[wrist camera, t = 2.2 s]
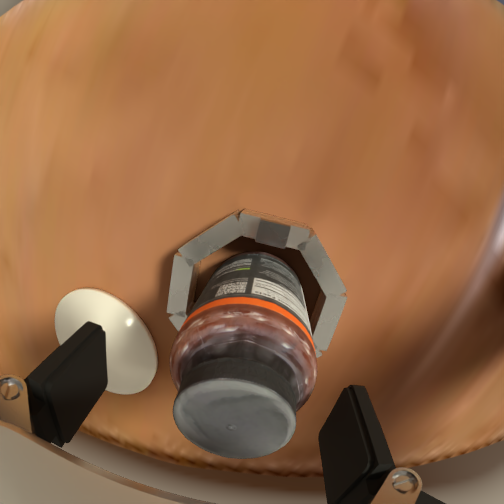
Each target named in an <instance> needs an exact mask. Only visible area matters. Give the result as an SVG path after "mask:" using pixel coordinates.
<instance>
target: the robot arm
mask: <svg viewBox="0 0 504 504" xmlns="http://www.w3.org/2000/svg"><path fill="white" fill-rule="evenodd" d="M107 384H108V375H107V357H106V332H105V331H104V330H103V328H102V326H101V325H98V324H96V323H93V322H90V321H87V322H86V323H85V324H84V325H83V326H81V327H80V328H79V329H78V330H77V331H76V332H75V333H74V334H73V335H72V336H70V337H69V338H68V339H67V340H66V341H65V342H64V343H63V344H62V345H61V346H59V347H58V348H57V349H56V350H55V351H54V352H53V353H52V354H50V355H49V356H48V357H47V358H46V359H45V360H44V361H43V362H42V363H41V364H40V365H39V366H38V367H37V368H36V369H35V370H34V371H33V372H32V373H31V374H30V375H29V376H28V377H27V378H26V379H25V380H23V379H21V378H20V377H18V376H16V375H10V374H8V375H3V376H0V504H215V503H210V502H205V501H201V500H196V499H192V498H187V497H184V496H180V495H176V494H172V493H169V492H165V491H162V490H159V489H155V488H152V487H149V486H146V485H143V484H140V483H137V482H134V481H132V480H129V479H126V478H124V477H121V476H118V475H116V474H113V473H111V472H108V471H106V470H104V469H101V468H99V467H97V466H95V465H92V464H90V463H88V462H86V461H84V460H81V459H80V458H78V457H75V456H73V455H71V454H69V453H67V452H65V451H64V450H62V449H60V448H58V447H56V446H54V445H52V444H51V442H52V443H54V444H56V445H57V446H59V447H62V446H63V445H64V443H65V442H66V443H69V442H70V441H71V439H72V438H73V436H74V434H75V433H76V432H77V430H78V429H79V427H80V426H81V424H82V423H83V421H84V420H85V418H86V417H87V415H88V414H89V412H90V411H91V409H92V408H93V407H94V405H95V404H96V402H97V401H98V399H99V398H100V396H101V395H102V393H103V392H104V391H105V389H106V387H107ZM319 446H320V453H321V460H322V467H323V474H324V482H325V490H326V497H327V503H328V504H445V503H443V502H442V501H440V500H438V499H436V498H434V497H432V496H430V495H428V494H426V493H425V492H423V491H421V488H422V481H421V479H420V477H419V475H418V474H417V473H416V472H414V471H413V470H411V469H409V468H404V467H400V468H396V467H395V465H394V462H393V459H392V456H391V453H390V450H389V448H388V445H387V442H386V439H385V436H384V434H383V431H382V428H381V426H380V423H379V421H378V419H377V416H376V414H375V411H374V408H373V406H372V403H371V401H370V398H369V396H368V393H367V391H366V388H365V387H364V386H358V385H350V386H348V388H344V389H343V391H342V393H341V395H340V397H339V399H338V400H337V402H336V404H335V406H334V408H333V409H332V411H331V413H330V415H329V417H328V418H327V420H326V422H325V424H324V425H323V427H322V429H321V430H320V433H319Z"/></svg>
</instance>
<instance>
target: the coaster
mask: <svg viewBox="0 0 504 504" xmlns="http://www.w3.org/2000/svg"><path fill="white" fill-rule="evenodd" d="M87 321H90V322H93V323H96V324H98V325H101V326H102V328H103V330H104V331H105V332H106V357H107V375H108V384H107V387H106V389H105V390H107V391H109V392H113V393H117V394H134V393H138V392H140V391H142V390H144V389H145V388H147V387H148V385H149V384H150V383H151V381H152V380H153V378H154V376H155V374H156V371H157V367H158V354H157V349H156V346H155V342H154V340H153V338H152V335H151V334H150V332H149V330H148V328H147V327H146V325H145V324H144V322H143V321H142V319H141V318H140V317H139V316H138V315H137V313H136V312H135V311H134V310H133V309H132V308H131V307H129V306H128V305H127V304H126V303H125V302H123V301H122V300H121V299H119V298H118V297H116V296H114V295H112V294H111V293H108V292H106V291H104V290H101V289H97V288H90V287H85V288H79V289H76V290H74V291H72V292H70V293H69V294H67V295H66V296H64V298H63V299H62V300H61V301H60V303H59V304H58V307H57V309H56V313H55V329H56V334H57V338H58V341H59V343H60V346H61V345H62V344H63V343H64V342H65V341H66V340H67V339H68V338H69V337H70V336H72V335H73V334H74V333H75V332H76V331H77V330H78V329H79V328H80V327H81V326H83V325H84V324H85V323H86V322H87Z"/></svg>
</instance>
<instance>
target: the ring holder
mask: <svg viewBox="0 0 504 504" xmlns="http://www.w3.org/2000/svg"><path fill="white" fill-rule="evenodd" d="M240 236H244V237H248V238H253V239H255V242H258V243H262V244H266V245H270V246H274V247H278V248H282V249H285V247H289V248H293V249H297V250H300V252H301V254H302V255H303V257H304V259H305V260H306V262H307V264H308V266H309V267H310V269H311V271H312V273H313V274H314V276H315V278H316V279H317V281H318V283H319V285H320V286H321V290H320V293H319V296H318V299H317V302H316V305H315V307H314V310H313V313H312V316H311V319H310V327H311V332H312V337H313V341H314V347H315V353H316V358H318V357H320V356H322V352H321V350H324V351H327V348H328V346H329V344H330V341H331V339H332V336H333V334H334V331H335V329H336V326H337V324H338V321H339V318H340V316H341V313H342V310H343V308H344V305H345V302H346V300H347V296H346V294H345V292H346V291H347V290H346V288H345V286H344V284H343V282H342V281H341V279H340V277H339V275H338V273H337V271H336V269H335V268H334V266H333V264H332V262H331V260H330V258H329V257H328V255H327V253H326V251H325V249H324V248H323V246H322V244H321V242H320V241H319V239H318V237H317V235H316V234H315V232H314V230H313V229H312V228H311V229H309V227H308V225H307V224H305V223H301V222H297V221H293V220H289V219H285V218H281V217H277V216H273V215H269V214H265V213H261V212H257V211H253V210H249V209H244V210H243V211H242V212H241V213H240V211H239V210H237V211H235V212H234V213H232V214H231V215H229V216H227V217H226V218H224V219H223V220H221V221H219V222H218V223H216V224H215V225H213V226H212V227H210V228H208V229H207V230H205V231H204V232H202V233H201V234H199V235H198V236H196V237H194V238H193V239H191V240H190V241H188V242H187V243H186V244H184V245H183V246H182V247H181V248H179V249H178V251H179V252H177V253H176V254H175V255H174V261H173V268H172V275H171V282H170V290H169V298H168V306H167V313H171V315H170V316H169V319H170V321H171V322H172V324H173V325H174V326H175V328H176V329H177V330H178V331H179V330H180V328H181V327H182V325H183V323H184V321H185V320H186V318H187V316H188V315H189V313H190V311H191V310H192V308H193V306H194V305H195V301H194V297H195V291H196V285H197V280H198V274H199V268H200V263H201V260H202V259H204V258H205V257H207V256H208V255H210V254H212V253H213V252H215V251H217V250H218V249H220V248H222V247H223V246H225V245H226V244H228V243H230V242H231V241H233V240H235V239H236V238H238V237H240Z"/></svg>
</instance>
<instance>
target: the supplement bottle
mask: <svg viewBox="0 0 504 504" xmlns="http://www.w3.org/2000/svg"><path fill="white" fill-rule="evenodd" d="M170 371H171V376H172V380H173V382H174V384H175V386H176V388H177V391H178V394H177V396H176V399H175V401H174V405H173V417H174V420H175V423H176V425H177V427H178V429H179V430H180V431H181V433H182V434H183V435H184V436H185V437H186V438H187V439H188V440H190V441H191V442H192V443H193V444H195V445H197V446H198V447H200V448H202V449H204V450H205V451H208V452H210V453H213V454H216V455H219V456H223V457H227V458H237V459H246V458H257V457H261V456H266V455H269V454H271V453H273V452H275V451H277V450H279V449H280V448H282V447H283V446H285V445H286V444H287V443H288V442H289V440H290V439H291V437H292V436H293V434H294V432H295V428H296V411H298V410H299V409H300V408H301V407H302V406H303V405H304V404H305V402H306V401H307V400H308V398H309V397H310V395H311V393H312V391H313V389H314V386H315V382H316V378H317V358H316V353H315V347H314V341H313V337H312V332H311V327H310V322H309V318H308V313H307V309H306V304H305V300H304V295H303V290H302V287H301V284H300V281H299V278H298V277H297V275H296V273H295V272H294V270H293V269H292V268H291V267H290V266H289V265H288V264H287V263H286V262H285V261H283V260H282V259H280V258H278V257H276V256H274V255H272V254H269V253H265V252H245V253H240V254H238V255H235V256H233V257H231V258H229V259H228V260H226V261H225V262H224V263H223V264H222V265H221V266H220V267H219V268H218V269H217V270H216V271H215V273H214V274H213V275H212V277H211V279H210V280H209V282H208V283H207V285H206V287H205V289H204V290H203V292H202V294H201V295H200V297H199V298H198V300H197V302H196V303H195V305H194V306H193V308H192V310H191V311H190V313H189V315H188V316H187V318H186V320H185V321H184V323H183V325H182V327H181V328H180V330H179V332H178V334H177V336H176V338H175V340H174V343H173V346H172V349H171V353H170Z"/></svg>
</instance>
